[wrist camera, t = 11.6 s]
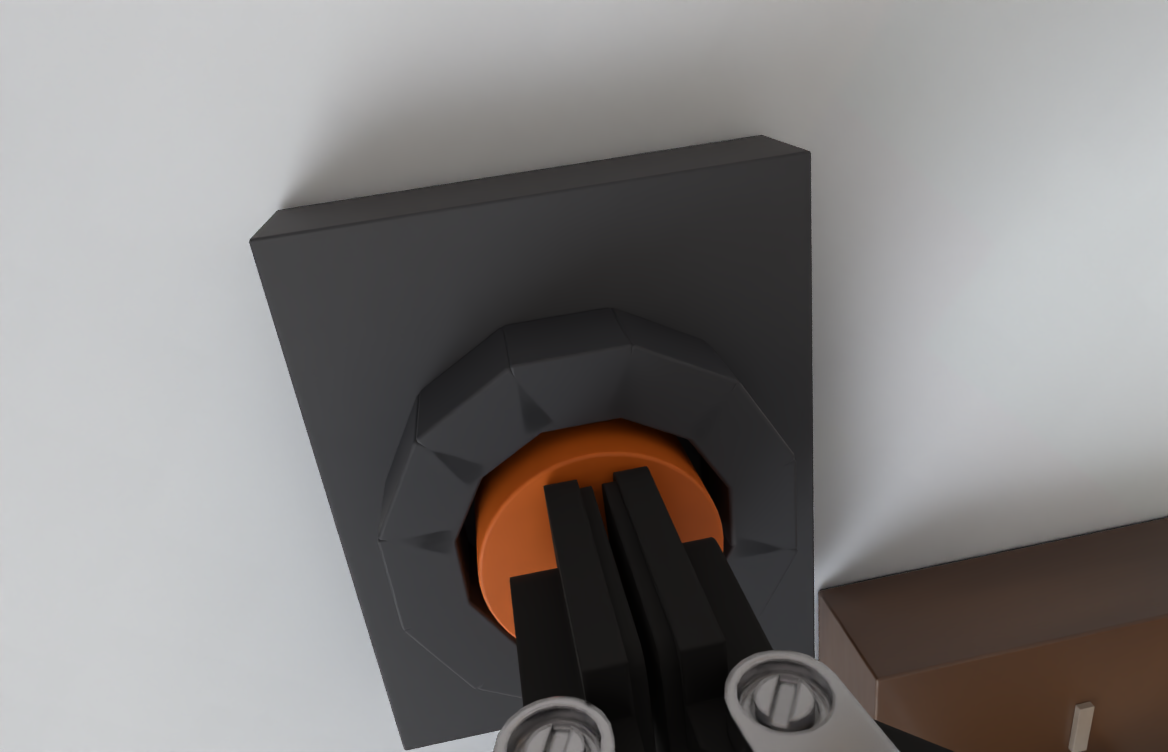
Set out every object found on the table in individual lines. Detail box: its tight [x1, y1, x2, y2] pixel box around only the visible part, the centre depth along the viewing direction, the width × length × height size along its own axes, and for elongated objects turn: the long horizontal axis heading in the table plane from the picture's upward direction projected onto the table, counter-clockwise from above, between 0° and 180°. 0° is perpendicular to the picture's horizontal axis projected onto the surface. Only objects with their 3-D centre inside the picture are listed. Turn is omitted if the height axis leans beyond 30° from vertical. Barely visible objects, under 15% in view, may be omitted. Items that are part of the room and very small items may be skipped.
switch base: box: [249, 135, 815, 750], centre depth 15 cm, size 11×9×4 cm
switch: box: [474, 418, 724, 638], centre depth 14 cm, size 4×4×2 cm
